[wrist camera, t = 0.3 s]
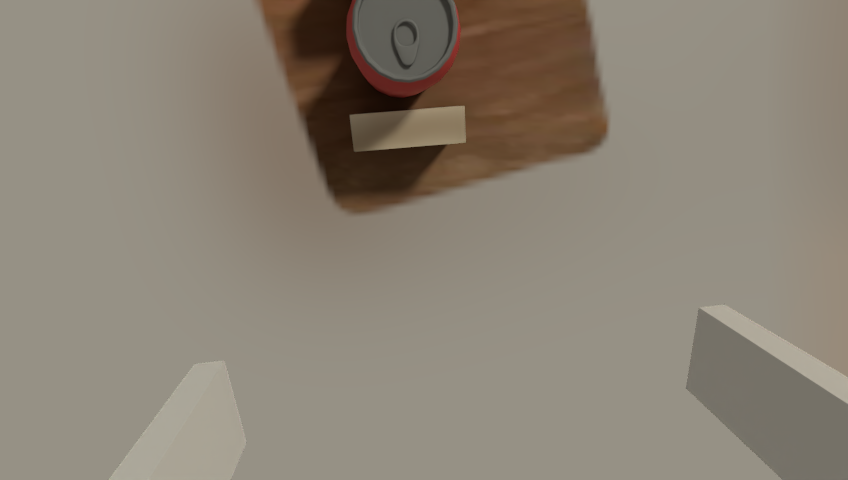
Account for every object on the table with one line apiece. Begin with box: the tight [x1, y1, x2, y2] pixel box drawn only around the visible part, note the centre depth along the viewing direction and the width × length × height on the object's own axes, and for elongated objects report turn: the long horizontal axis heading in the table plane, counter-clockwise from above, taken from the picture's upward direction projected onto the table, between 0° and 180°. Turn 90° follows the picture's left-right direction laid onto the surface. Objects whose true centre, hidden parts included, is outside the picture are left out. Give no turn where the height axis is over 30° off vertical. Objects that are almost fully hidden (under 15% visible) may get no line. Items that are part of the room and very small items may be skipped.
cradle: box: [349, 106, 466, 152], centre depth 30 cm, size 14×8×6 cm, turn 4°
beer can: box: [346, 0, 461, 98], centre depth 27 cm, size 7×7×12 cm
